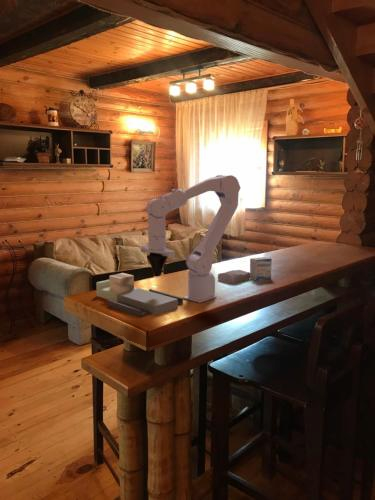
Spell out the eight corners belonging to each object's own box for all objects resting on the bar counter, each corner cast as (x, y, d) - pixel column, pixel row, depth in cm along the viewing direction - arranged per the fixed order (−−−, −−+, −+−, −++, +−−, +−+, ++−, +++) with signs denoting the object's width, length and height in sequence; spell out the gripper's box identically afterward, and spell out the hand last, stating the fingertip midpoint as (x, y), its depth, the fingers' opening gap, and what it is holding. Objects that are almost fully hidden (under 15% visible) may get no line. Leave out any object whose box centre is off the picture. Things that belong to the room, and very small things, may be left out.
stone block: (215, 285, 176) (234, 284, 169) (214, 273, 176) (233, 272, 169) (233, 280, 185) (252, 280, 178) (232, 269, 185) (251, 268, 178)
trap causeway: (128, 288, 164) (128, 275, 163) (187, 304, 144) (187, 290, 143) (86, 298, 150) (85, 284, 150) (144, 318, 130) (144, 303, 129)
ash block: (123, 286, 155) (122, 272, 154) (134, 289, 151) (133, 275, 150) (109, 289, 151) (109, 275, 150) (120, 292, 147) (120, 278, 146)
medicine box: (255, 280, 176) (256, 260, 174) (249, 278, 180) (249, 258, 178) (271, 278, 179) (272, 258, 177) (265, 276, 183) (265, 256, 181)
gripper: (133, 234, 144) (134, 274, 146) (163, 239, 134) (163, 281, 137) (149, 232, 149) (149, 270, 152) (179, 236, 139) (179, 277, 142)
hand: (157, 275), depth 145 cm, fingers closed
